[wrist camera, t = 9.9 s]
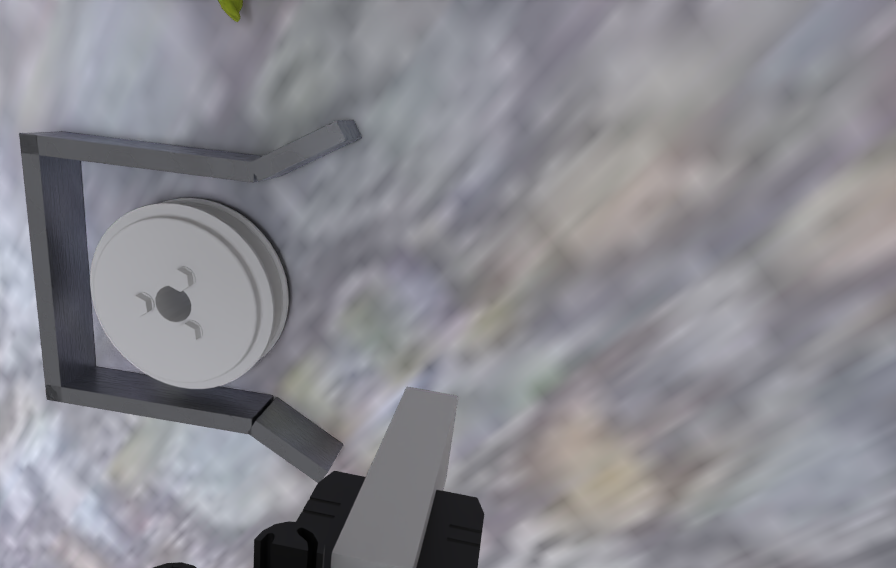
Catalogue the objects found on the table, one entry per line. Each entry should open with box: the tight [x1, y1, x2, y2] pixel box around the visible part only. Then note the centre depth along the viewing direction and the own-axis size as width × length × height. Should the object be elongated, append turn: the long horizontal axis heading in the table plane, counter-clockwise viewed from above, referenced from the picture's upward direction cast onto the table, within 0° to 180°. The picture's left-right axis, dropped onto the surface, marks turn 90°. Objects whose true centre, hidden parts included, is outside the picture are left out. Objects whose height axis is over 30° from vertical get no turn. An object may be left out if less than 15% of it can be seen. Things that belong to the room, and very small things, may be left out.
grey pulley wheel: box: [90, 198, 289, 389], centre depth 40 cm, size 13×13×5 cm
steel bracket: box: [19, 120, 362, 483], centre depth 40 cm, size 24×21×4 cm
